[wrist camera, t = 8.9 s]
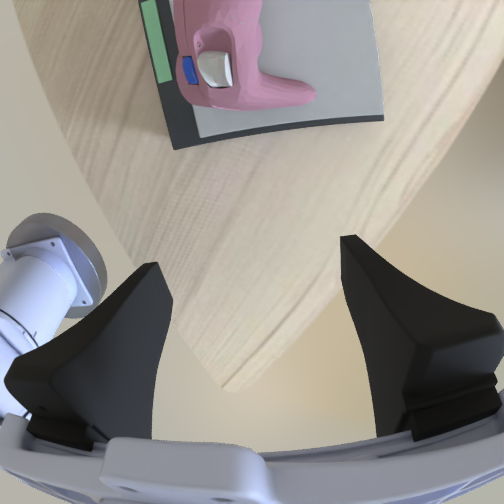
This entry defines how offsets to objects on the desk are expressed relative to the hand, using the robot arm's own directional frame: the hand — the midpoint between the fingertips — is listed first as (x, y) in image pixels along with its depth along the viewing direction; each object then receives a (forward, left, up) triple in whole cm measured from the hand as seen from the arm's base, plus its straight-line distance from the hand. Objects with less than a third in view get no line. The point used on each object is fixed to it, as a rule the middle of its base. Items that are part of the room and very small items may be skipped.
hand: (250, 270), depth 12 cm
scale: (+2, +10, -9) cm, 14 cm away
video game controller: (+2, +10, -7) cm, 12 cm away
